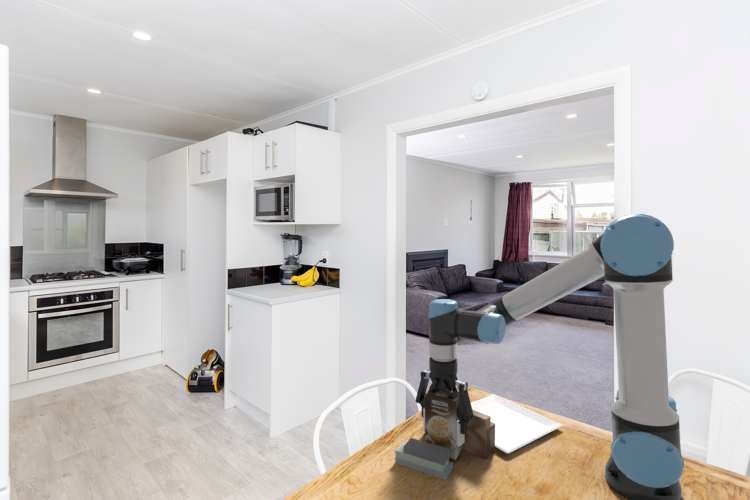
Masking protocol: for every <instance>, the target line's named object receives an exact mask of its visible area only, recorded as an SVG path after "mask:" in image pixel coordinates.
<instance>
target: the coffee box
mask: <svg viewBox="0 0 750 500" xmlns="http://www.w3.org/2000/svg"><path fill="white" fill-rule="evenodd" d="M427 390H428V391H426V394H425V431H424V442H427V443H431V444H434V445H437V446H441V447H444V448H448V449H450V457H449V459H451V460H457V458H458V456H459V455H460V453H461V451H462V445H461V446H459V447H458V446H456V422H457V421H458V420H459V419H458V417H457V405H458V402H459V399H460V397H457V398H455V399H451V398H449V397H447V394H446V393H444V392H442V391H438V390H435V391H433V392H432V391H429V389H427ZM450 392H451V393H452V392H453V391H450ZM458 396H459V391H458Z"/></svg>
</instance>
